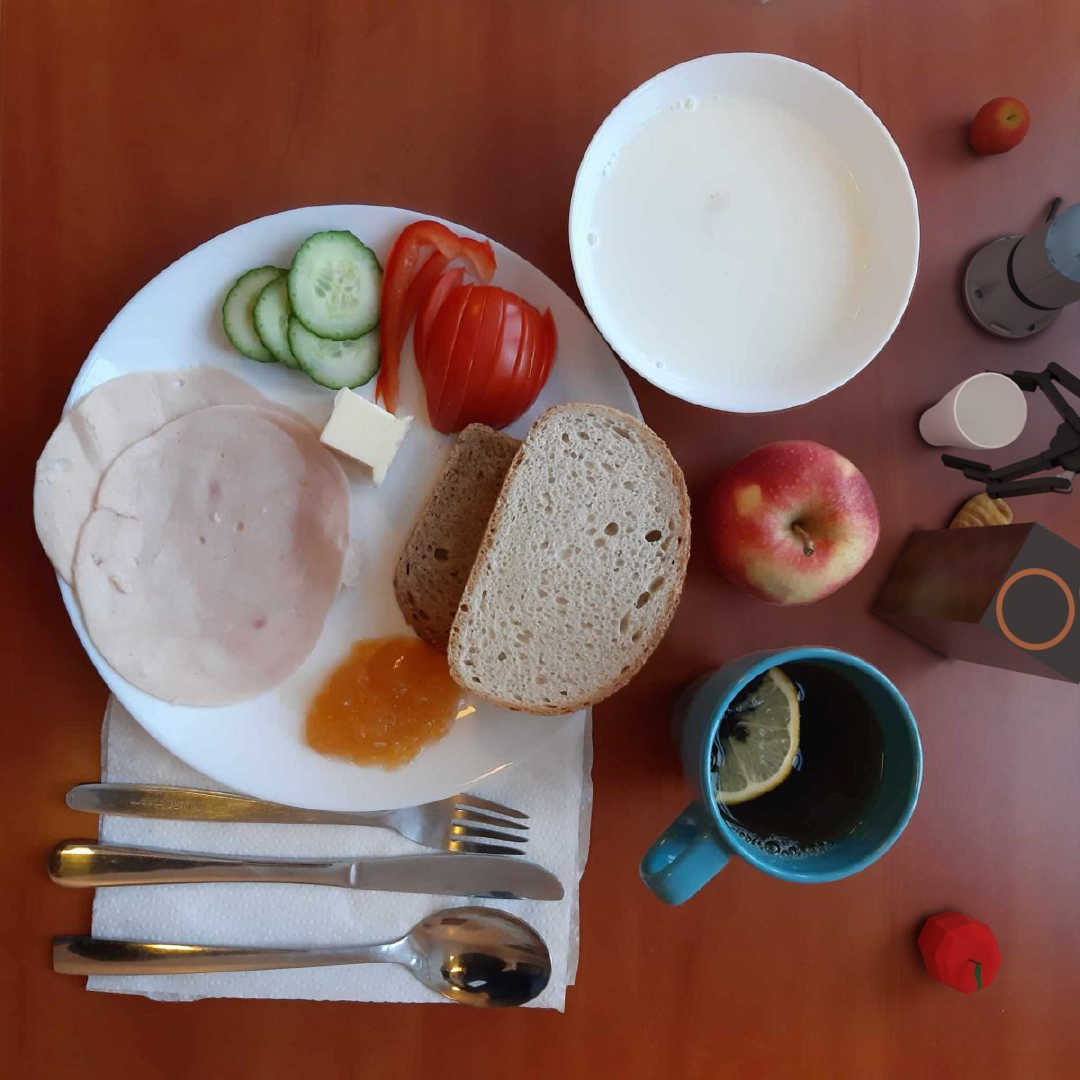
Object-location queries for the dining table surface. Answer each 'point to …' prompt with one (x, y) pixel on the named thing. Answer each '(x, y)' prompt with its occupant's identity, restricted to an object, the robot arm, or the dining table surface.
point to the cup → (977, 414)
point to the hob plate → (1041, 602)
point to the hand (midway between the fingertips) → (964, 418)
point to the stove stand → (958, 594)
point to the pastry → (982, 513)
